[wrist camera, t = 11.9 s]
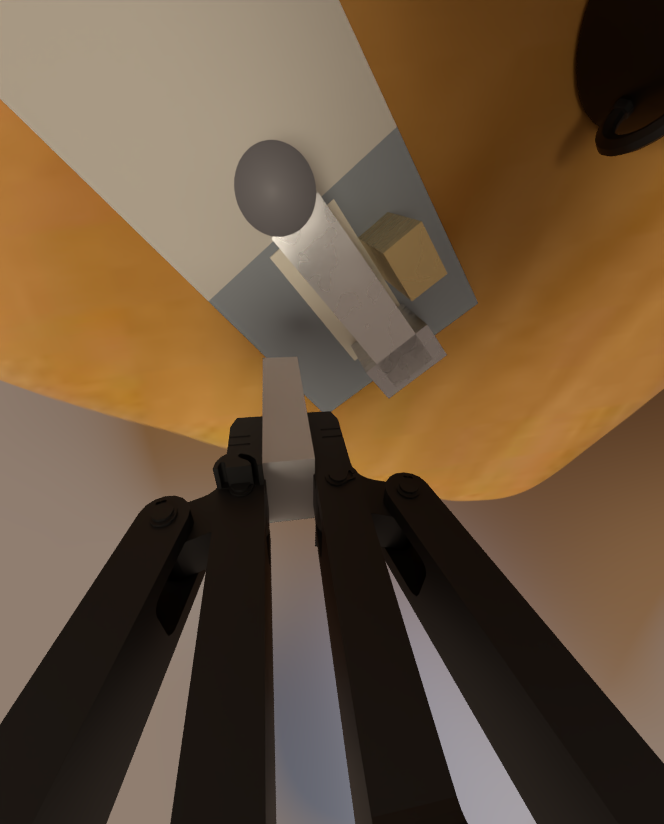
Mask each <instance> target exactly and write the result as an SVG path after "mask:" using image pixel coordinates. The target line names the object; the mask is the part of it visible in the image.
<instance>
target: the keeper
mask: <svg viewBox="0 0 664 824" xmlns="http://www.w3.org/2000/svg"><path fill="white" fill-rule="evenodd" d="M358 238H359V240H360V242H361V243H362V245H363V246H364V248H365V249H366V251H367V253H368V254H369V256H370V257H371V259H372V261H373V262H374V264H375V265H376V267H377V269H378V270H379V272H380V273H381V275H382V277H383V278H384V279H385V280H386V281H387V282H388V283H390V284H391V285H392V286H393V287H395V288H396V289H397V290H398V291H400V292H401V293H402V294H403V295H405V296H406V297H407V298H408V299H410V300H411V301H413V300H414V299H416V298H417V297H418V296H420V295H421V294H422V293H423V292H425V291H426V290H427V289H429V288H430V287H431V286H432V285H434V284H435V283H436V282H438V281H439V280H440V279H441V278H443V277H444V276H445V275H447V274H448V273H447V271H446V269H445V267H444V265H443V263H442V261H441V259H440V257H439V255H438V253H437V251H436V249H435V247H434V245H433V243H432V241H431V239H430V237H429V235H428V233H427V231H426V229H425V227H424V225H423V223H422V221H419V220H415V219H412V218H408V217H404V216H401V215H397V214H393V213H390V212H387V213H386V214H385V215H384V216H383V217H382V218H380V219H379V220H378V221H377V222H376V223H375V224H373V225H372V226H371V227H370V228H369V229H368V230H366V231H365V232H364V233H363V234H362V235H361V236H360V237H358Z"/></svg>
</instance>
